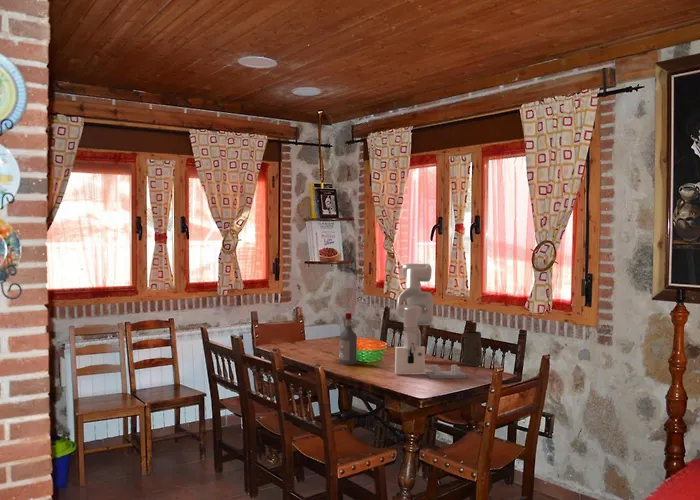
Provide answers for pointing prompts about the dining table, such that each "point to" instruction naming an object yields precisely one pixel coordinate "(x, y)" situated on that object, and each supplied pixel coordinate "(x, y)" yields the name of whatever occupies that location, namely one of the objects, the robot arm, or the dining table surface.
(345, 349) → the liquor
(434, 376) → the hinge plate
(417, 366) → the cabinet door
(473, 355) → the beer stein
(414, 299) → the robot arm
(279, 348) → the dining table surface
